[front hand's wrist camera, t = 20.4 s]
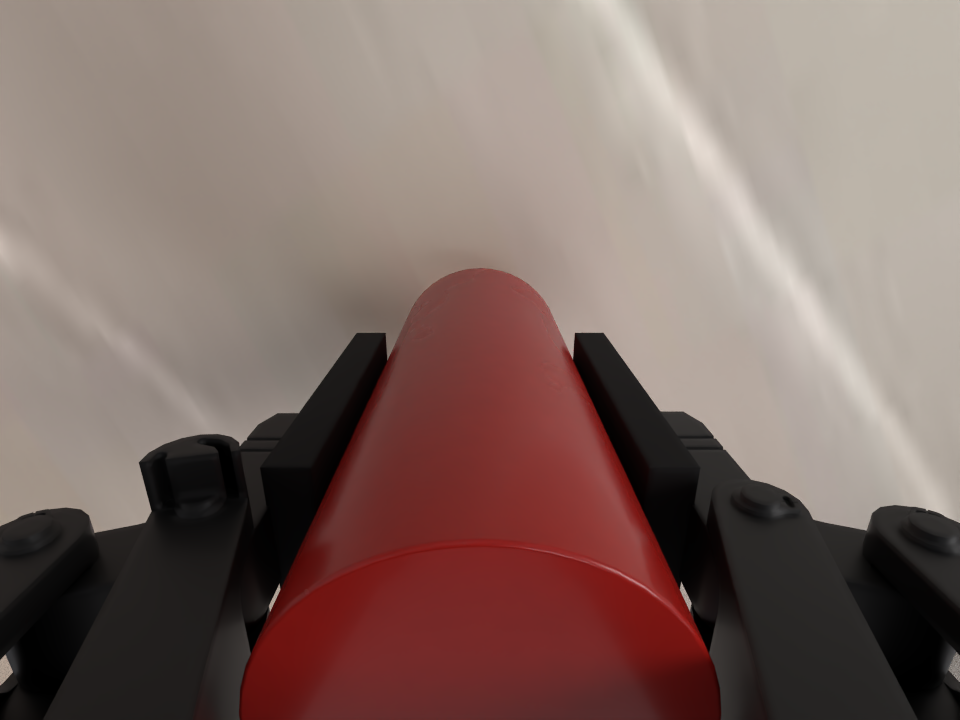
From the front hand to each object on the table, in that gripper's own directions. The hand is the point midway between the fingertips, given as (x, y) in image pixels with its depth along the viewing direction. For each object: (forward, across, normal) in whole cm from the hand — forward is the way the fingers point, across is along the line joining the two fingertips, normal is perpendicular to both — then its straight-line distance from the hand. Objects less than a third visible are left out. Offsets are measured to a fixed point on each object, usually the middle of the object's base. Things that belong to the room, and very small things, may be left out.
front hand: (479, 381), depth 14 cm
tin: (+3, 0, 0) cm, 3 cm away
